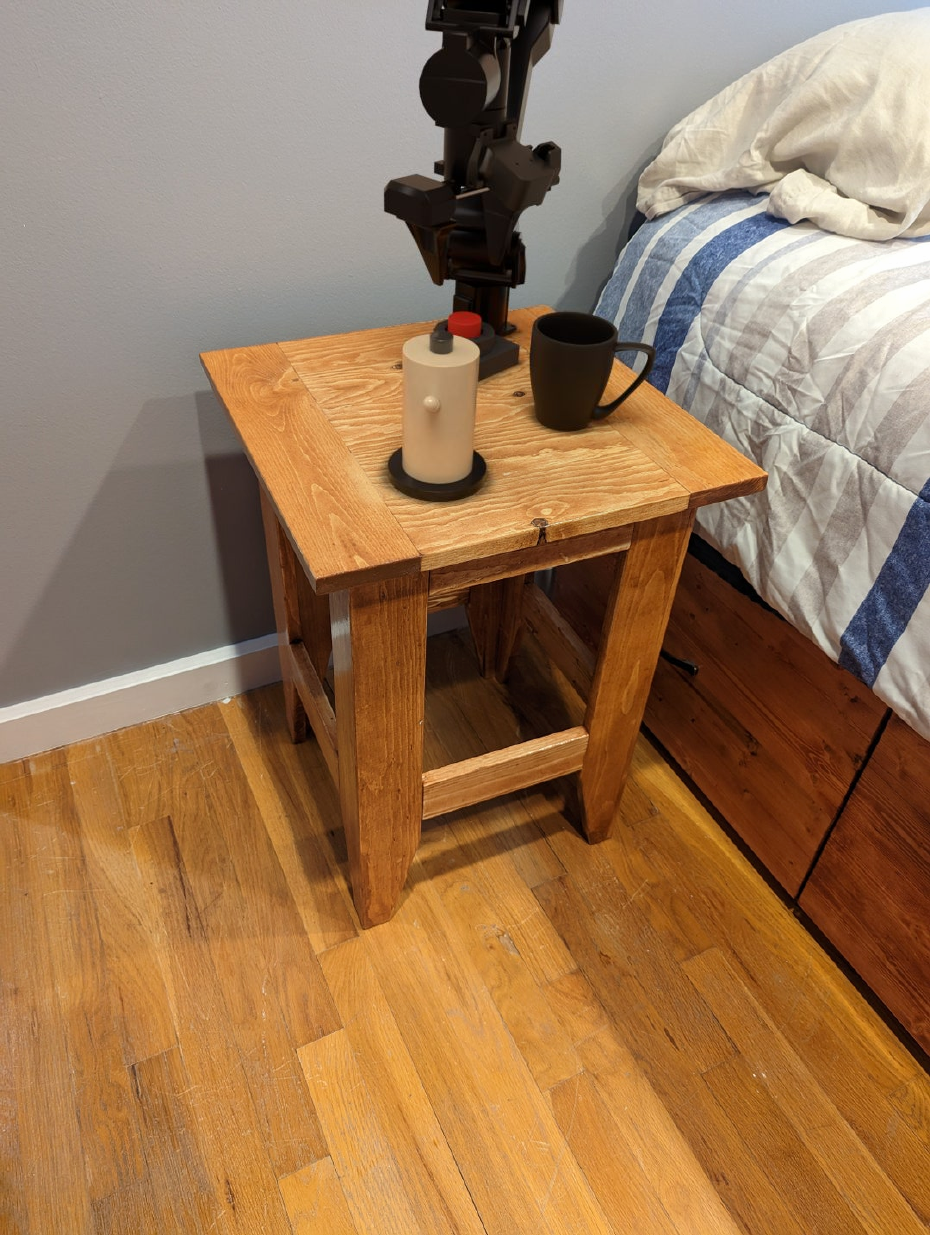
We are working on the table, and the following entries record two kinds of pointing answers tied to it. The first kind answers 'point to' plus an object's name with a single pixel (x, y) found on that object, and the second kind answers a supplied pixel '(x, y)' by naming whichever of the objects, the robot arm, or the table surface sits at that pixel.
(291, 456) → the table surface
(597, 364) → the mug
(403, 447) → the cream cylinder
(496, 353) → the switch block
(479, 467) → the plate
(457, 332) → the stop button
